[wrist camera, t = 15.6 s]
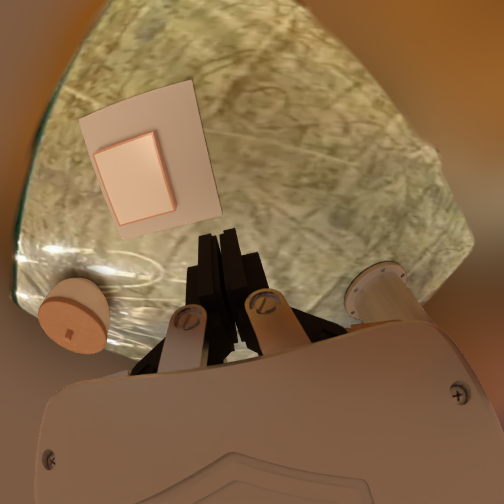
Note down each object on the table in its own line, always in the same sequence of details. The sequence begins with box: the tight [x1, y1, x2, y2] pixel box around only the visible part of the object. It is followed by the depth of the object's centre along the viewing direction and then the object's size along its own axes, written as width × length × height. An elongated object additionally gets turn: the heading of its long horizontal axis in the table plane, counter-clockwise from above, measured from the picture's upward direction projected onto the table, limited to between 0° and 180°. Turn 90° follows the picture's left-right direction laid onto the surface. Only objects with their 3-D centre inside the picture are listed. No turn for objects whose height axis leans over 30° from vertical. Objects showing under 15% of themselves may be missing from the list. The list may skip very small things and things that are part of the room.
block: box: [92, 130, 177, 227], centre depth 27 cm, size 9×2×7 cm
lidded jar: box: [38, 277, 110, 354], centre depth 32 cm, size 11×11×9 cm
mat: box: [79, 80, 223, 241], centre depth 27 cm, size 16×13×1 cm
